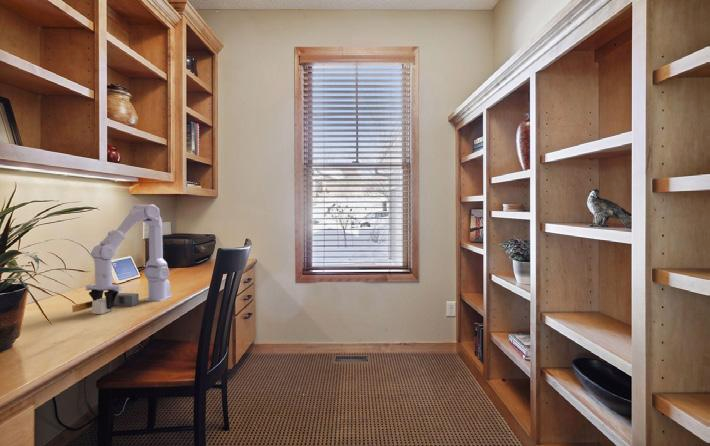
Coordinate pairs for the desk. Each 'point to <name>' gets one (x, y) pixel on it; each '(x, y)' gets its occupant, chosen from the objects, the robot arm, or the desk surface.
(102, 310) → the plug
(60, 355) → the desk surface
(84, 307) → the orange long bar
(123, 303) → the socket block
